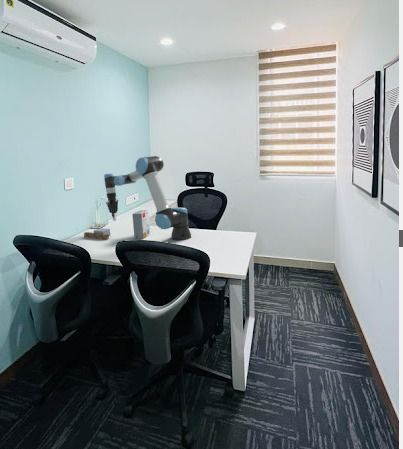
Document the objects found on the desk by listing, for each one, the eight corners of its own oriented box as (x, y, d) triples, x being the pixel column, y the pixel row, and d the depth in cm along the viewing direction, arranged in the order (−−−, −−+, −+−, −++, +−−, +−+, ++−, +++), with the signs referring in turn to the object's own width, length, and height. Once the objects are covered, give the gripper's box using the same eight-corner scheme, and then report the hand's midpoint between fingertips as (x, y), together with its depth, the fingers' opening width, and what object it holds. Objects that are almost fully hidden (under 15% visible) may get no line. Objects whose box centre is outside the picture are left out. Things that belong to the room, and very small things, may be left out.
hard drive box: (143, 239, 255) (141, 213, 250) (134, 239, 257) (131, 213, 252) (150, 233, 270) (148, 209, 265) (141, 233, 271) (139, 209, 267)
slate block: (110, 236, 271) (109, 228, 269) (103, 238, 264) (102, 231, 262) (101, 235, 275) (100, 228, 274) (94, 237, 268) (93, 230, 267)
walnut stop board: (109, 239, 261) (108, 234, 260) (107, 239, 259) (106, 234, 258) (86, 236, 272) (86, 232, 271) (84, 237, 270) (83, 232, 269)
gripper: (112, 191, 282) (116, 218, 287) (102, 193, 271) (106, 222, 276) (119, 191, 279) (123, 218, 284) (109, 193, 268) (113, 222, 273)
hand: (114, 220), depth 280 cm, fingers closed
